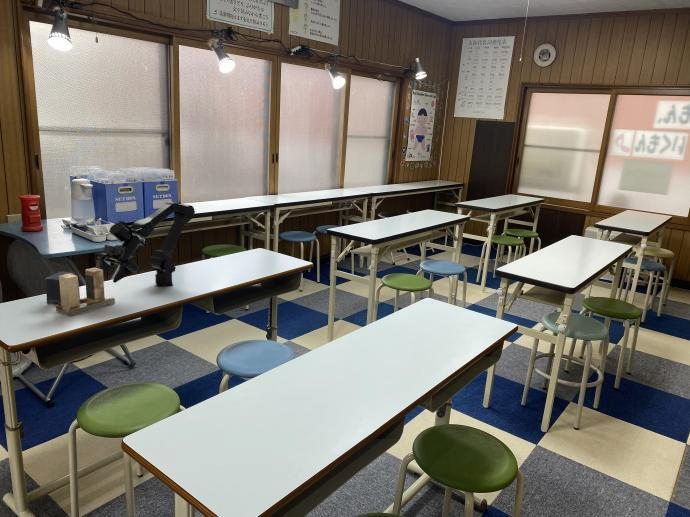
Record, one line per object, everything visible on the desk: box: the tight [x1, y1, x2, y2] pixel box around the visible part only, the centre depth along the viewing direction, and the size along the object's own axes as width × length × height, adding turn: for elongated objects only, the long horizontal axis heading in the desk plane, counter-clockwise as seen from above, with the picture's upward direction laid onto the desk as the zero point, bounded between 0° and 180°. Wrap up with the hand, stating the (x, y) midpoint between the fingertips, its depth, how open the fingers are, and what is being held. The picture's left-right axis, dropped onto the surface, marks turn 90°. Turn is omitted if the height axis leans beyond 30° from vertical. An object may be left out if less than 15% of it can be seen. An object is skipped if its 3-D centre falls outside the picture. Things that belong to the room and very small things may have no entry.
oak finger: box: [84, 267, 106, 303], centre depth 197 cm, size 5×5×13 cm
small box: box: [44, 270, 76, 305], centre depth 199 cm, size 11×6×10 cm, turn 179°
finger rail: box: [55, 274, 116, 317], centre depth 193 cm, size 18×9×14 cm, turn 151°
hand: (106, 280), depth 201 cm, fingers open, 9 cm apart
